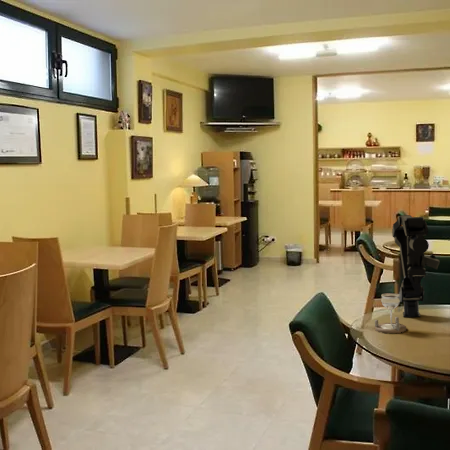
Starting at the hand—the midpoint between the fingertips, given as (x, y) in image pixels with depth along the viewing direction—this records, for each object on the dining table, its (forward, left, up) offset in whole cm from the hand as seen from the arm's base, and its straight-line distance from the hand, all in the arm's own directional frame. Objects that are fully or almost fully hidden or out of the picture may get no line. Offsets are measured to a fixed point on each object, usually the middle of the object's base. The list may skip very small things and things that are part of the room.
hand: (416, 290), depth 216 cm
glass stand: (+9, -10, -13) cm, 19 cm away
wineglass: (+9, -10, -12) cm, 18 cm away
